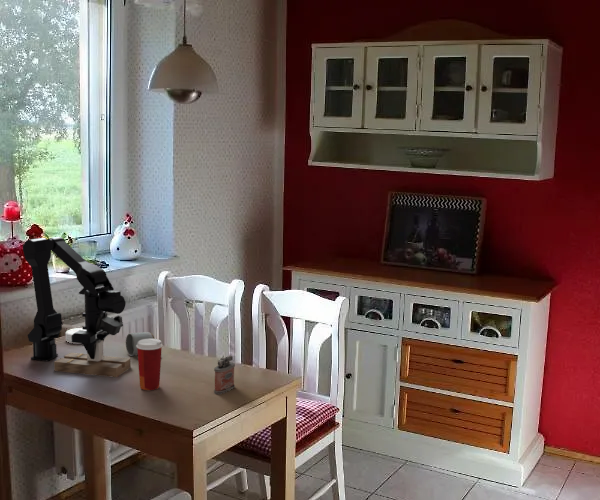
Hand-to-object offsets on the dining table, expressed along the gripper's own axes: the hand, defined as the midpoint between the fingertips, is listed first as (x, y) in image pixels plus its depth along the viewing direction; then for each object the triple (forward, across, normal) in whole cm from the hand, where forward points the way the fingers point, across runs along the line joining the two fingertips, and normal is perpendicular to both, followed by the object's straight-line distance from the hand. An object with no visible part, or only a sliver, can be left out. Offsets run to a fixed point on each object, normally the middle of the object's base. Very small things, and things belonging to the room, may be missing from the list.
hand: (95, 357), depth 235 cm
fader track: (+4, 0, +1) cm, 4 cm away
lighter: (+4, -6, -45) cm, 45 cm away
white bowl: (+4, +28, +20) cm, 35 cm away
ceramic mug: (+4, +20, -6) cm, 21 cm away
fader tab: (+2, 0, 0) cm, 2 cm away
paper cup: (+4, -10, -23) cm, 25 cm away
